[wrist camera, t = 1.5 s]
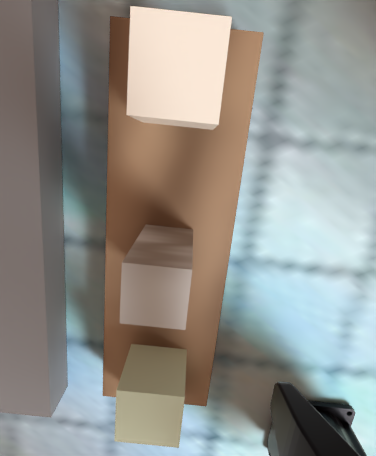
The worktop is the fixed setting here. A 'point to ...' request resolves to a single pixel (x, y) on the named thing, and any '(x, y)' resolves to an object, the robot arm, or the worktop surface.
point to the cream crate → (176, 67)
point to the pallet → (172, 218)
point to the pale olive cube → (151, 396)
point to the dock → (31, 211)
